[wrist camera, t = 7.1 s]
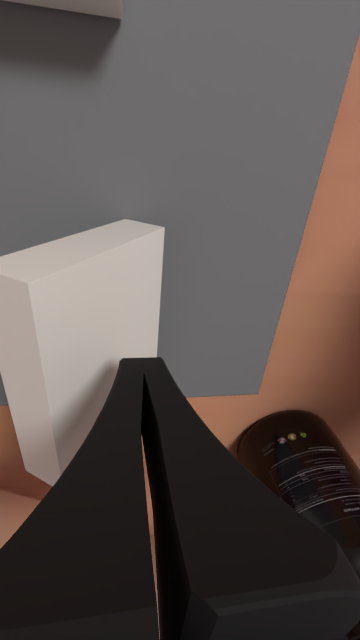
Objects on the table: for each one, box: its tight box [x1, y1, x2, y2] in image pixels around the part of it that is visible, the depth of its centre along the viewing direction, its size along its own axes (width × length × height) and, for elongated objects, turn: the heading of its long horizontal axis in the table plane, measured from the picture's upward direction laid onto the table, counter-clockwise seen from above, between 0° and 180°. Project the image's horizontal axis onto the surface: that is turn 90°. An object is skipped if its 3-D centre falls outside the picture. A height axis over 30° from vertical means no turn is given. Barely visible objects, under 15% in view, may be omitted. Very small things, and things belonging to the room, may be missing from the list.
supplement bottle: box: [237, 410, 360, 640], centre depth 18 cm, size 7×7×12 cm
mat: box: [0, 0, 360, 406], centre depth 12 cm, size 15×26×1 cm, turn 175°
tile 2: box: [0, 219, 165, 487], centre depth 12 cm, size 2×8×6 cm
